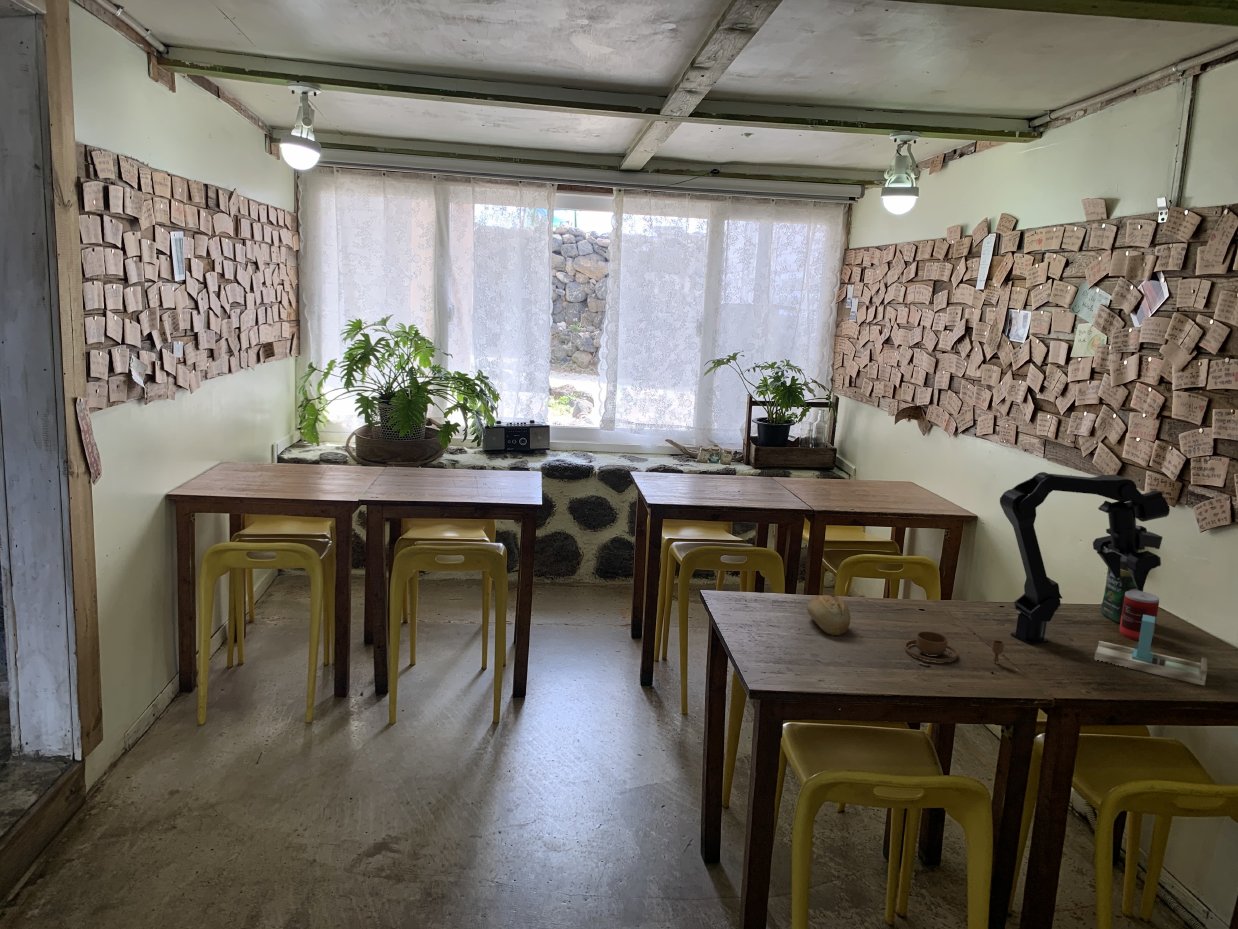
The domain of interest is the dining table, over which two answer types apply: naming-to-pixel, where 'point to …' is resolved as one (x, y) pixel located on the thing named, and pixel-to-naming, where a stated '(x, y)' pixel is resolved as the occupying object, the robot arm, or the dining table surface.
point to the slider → (1145, 640)
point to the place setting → (942, 646)
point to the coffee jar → (1117, 592)
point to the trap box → (1154, 663)
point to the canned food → (1137, 612)
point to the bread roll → (830, 614)
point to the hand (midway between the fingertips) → (1128, 584)
